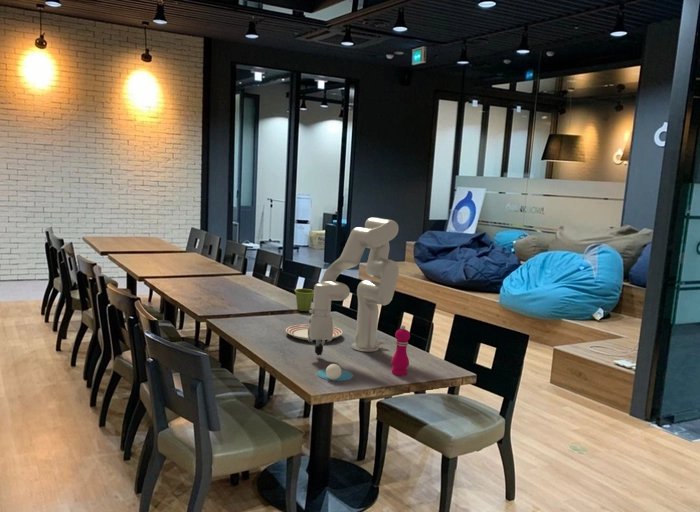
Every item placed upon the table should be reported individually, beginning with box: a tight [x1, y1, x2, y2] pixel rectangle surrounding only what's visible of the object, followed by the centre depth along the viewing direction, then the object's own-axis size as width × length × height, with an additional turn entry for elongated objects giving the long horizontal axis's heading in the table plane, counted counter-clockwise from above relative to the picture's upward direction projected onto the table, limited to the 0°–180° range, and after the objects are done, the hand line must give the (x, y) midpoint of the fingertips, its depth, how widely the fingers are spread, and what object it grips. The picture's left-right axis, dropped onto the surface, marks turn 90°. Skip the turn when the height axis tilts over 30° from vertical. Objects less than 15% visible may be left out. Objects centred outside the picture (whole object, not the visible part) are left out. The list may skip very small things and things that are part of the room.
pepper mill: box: [390, 325, 411, 376], centre depth 244 cm, size 7×7×20 cm
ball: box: [325, 363, 342, 380], centre depth 232 cm, size 6×6×6 cm
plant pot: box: [294, 288, 314, 312], centre depth 344 cm, size 12×12×11 cm
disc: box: [316, 368, 354, 382], centre depth 238 cm, size 14×14×1 cm
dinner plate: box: [285, 323, 343, 342], centre depth 292 cm, size 28×27×3 cm
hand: (318, 354), depth 258 cm, fingers closed
